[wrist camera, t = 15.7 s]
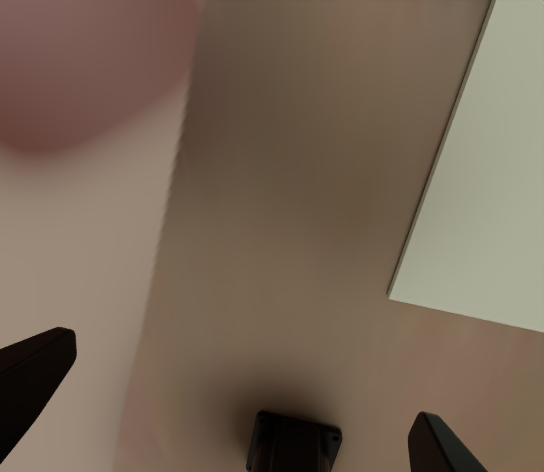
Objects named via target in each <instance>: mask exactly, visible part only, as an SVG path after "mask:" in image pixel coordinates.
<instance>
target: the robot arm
mask: <svg viewBox="0 0 544 472" xmlns="http://www.w3.org/2000/svg"><path fill="white" fill-rule="evenodd" d="M76 356H77V349H76V335H75V332H74V331H73V330H71V329H67V328H63V327H56V328H53V329H51V330H48V331H45V332H43V333H40V334H38V335H35V336H32V337H30V338H28V339H25V340H22V341H20V342H17V343H15V344H12V345H10V346H7V347H4V348H2V349H0V464H1V463H2V462H3V460H4V459H5V458H6V457H7V455H8V454H9V453H10V452H11V450H12V449H13V448H14V447H15V446H16V444H17V443H18V442H19V441H20V439H21V438H22V437H23V436H24V434H25V433H26V432H27V431H28V429H29V428H30V427H31V425H32V424H33V423H34V422H35V420H36V419H37V418H38V416H39V415H40V413H41V412H42V410H43V409H44V407H45V406H46V404H47V403H48V401H49V400H50V398H51V397H52V395H53V394H54V392H55V391H56V389H57V388H58V386H59V385H60V383H61V382H62V380H63V379H64V377H65V376H66V374H67V373H68V371H69V370H70V368H71V367H72V365H73V364H74V362H75V360H76ZM262 418H263V419H262ZM341 442H342V432H341V431H340V430H338V429H335V428H331V427H327V426H322V425H318V424H314V423H310V422H306V421H302V420H297V419H293V418H289V417H285V416H281V415H277V414H272V413H268V412H264V411H261V412H259V413H258V414H257V417H256V422H255V426H254V431H253V436H252V440H251V445H250V450H249V454H248V459H247V464H246V469H247V471H249V472H331V470H332V467H333V464H334V461H335V459H336V456H337V453H338V450H339V448H340V445H341ZM408 449H409V458H410V467H411V472H488V471H487V470H486V469H485V468H484V467H483V466H482V464H481V463H480V462H479V461H478V460H477V459H476V458H475V456H474V455H473V454H472V453H471V452H470V451H469V450H468V448H467V447H466V446H465V445H464V444H463V443H462V442H461V440H460V439H459V438H458V437H457V436H456V435H455V434H454V432H453V431H452V430H451V429H450V428H449V427H448V426H447V424H446V423H445V422H444V421H443V420H442V419H441V418H440V417H439V416H438V415H436V414H432V413H428V412H423V411H422V412H420V413H419V414H418V415H417V417H416V419H415V421H414V424H413V426H412V428H411V430H410V432H409V435H408Z"/></svg>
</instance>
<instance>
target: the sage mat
mask: <svg viewBox="0 0 544 472" xmlns="http://www.w3.org/2000/svg"><path fill="white" fill-rule="evenodd" d="M387 295H388V298H389V299H392V300H396V301H401V302H405V303H410V304H415V305H419V306H424V307H429V308H433V309H438V310H442V311H447V312H452V313H456V314H461V315H466V316H470V317H475V318H480V319H484V320H489V321H493V322H498V323H503V324H507V325H512V326H517V327H521V328H526V329H531V330H535V331H540V332H544V0H492V1H491V4H490V7H489V10H488V12H487V15H486V18H485V21H484V24H483V27H482V29H481V32H480V35H479V38H478V41H477V43H476V46H475V49H474V52H473V55H472V57H471V60H470V63H469V66H468V69H467V72H466V74H465V77H464V80H463V83H462V86H461V88H460V91H459V94H458V97H457V100H456V102H455V105H454V108H453V111H452V114H451V117H450V119H449V122H448V125H447V128H446V131H445V133H444V136H443V139H442V142H441V145H440V148H439V150H438V153H437V156H436V159H435V162H434V164H433V167H432V170H431V173H430V176H429V178H428V181H427V184H426V187H425V190H424V193H423V195H422V198H421V201H420V204H419V207H418V209H417V212H416V215H415V218H414V221H413V224H412V226H411V229H410V232H409V235H408V238H407V240H406V243H405V246H404V249H403V252H402V254H401V257H400V260H399V263H398V266H397V269H396V271H395V274H394V277H393V280H392V283H391V285H390V288H389V291H388V294H387Z"/></svg>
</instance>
